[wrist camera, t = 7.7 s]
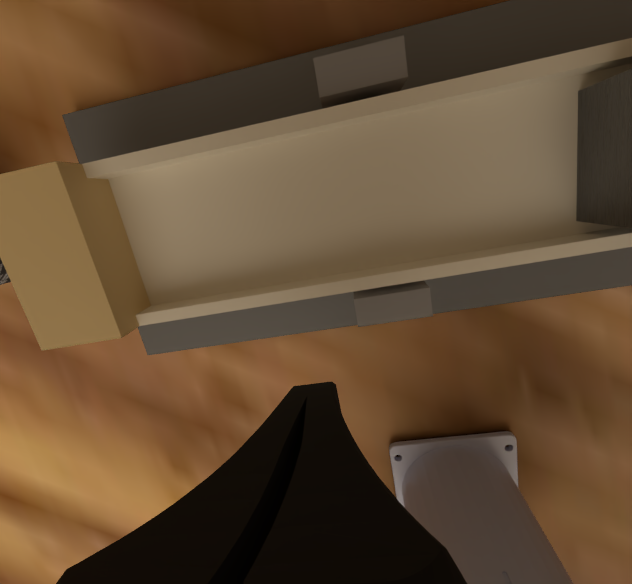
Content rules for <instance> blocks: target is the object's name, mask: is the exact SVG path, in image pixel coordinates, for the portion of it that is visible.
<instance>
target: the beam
mask: <svg viewBox="0 0 632 584" xmlns="http://www.w3.org/2000/svg"><path fill="white" fill-rule="evenodd" d="M629 69H632V38H629V39H624V40H620V41H616V42H611V43H607V44H602V45H598V46H594V47H589V48H585V49H581V50H576V51H572V52H568V53H563V54H559V55H555V56H550V57H546V58H541V59H537V60H533V61H528V62H524V63H520V64H515V65H511V66H507V67H502V68H498V69H494V70H489V71H485V72H481V73H476V74H472V75H467V76H463V77H459V78H454V79H450V80H446V81H441V82H437V83H433V84H428V85H424V86H420V87H415V88H411V89H406V90H402V91H398V92H393V93H389V94H385V95H380V96H376V97H372V98H367V99H363V100H359V101H354V102H350V103H345V104H341V105H337V106H332V107H328V108H324V109H319V110H315V111H311V112H306V113H302V114H298V115H293V116H289V117H285V118H280V119H276V120H271V121H267V122H263V123H258V124H254V125H250V126H245V127H241V128H237V129H232V130H228V131H224V132H219V133H215V134H210V135H206V136H202V137H197V138H193V139H189V140H184V141H180V142H176V143H171V144H167V145H163V146H158V147H154V148H149V149H145V150H141V151H136V152H132V153H128V154H123V155H119V156H115V157H110V158H106V159H102V160H97V161H93V162H88V163H84V164H77V163H68V162H58V161H55V162H51V163H46V164H42V165H38V166H33V167H29V168H25V169H21V170H16V171H12V172H8V173H3V174H0V258H1V260H2V263H3V265H4V267H5V269H6V272H7V274H8V276H9V278H10V280H11V283H12V285H13V287H14V289H15V292H16V294H17V296H18V298H19V301H20V303H21V305H22V307H23V310H24V312H25V314H26V316H27V319H28V321H29V323H30V325H31V327H32V330H33V332H34V334H35V336H36V339H37V341H38V343H39V345H40V348H41V350H48V349H54V348H61V347H67V346H73V345H80V344H86V343H92V342H99V341H105V340H112V339H118V338H122V337H124V336H125V335H127V334H128V333H130V332H131V331H133V330H134V329H136V328H137V327H139V326H143V325H149V324H155V323H162V322H168V321H174V320H180V319H186V318H193V317H199V316H205V315H211V314H218V313H224V312H230V311H236V310H242V309H249V308H255V307H261V306H267V305H273V304H280V303H286V302H292V301H298V300H304V299H311V298H317V297H323V296H329V295H336V294H342V293H348V292H354V291H360V290H367V289H373V288H379V287H385V286H391V285H398V284H404V283H410V282H416V281H423V280H429V279H435V278H441V277H447V276H454V275H460V274H466V273H472V272H478V271H485V270H491V269H497V268H503V267H509V266H516V265H522V264H528V263H534V262H541V261H547V260H553V259H559V258H565V257H572V256H578V255H584V254H590V253H596V252H603V251H609V250H615V249H621V248H627V247H632V228H626V227H618V226H610V225H602V224H595V223H587V222H579V221H576V206H577V133H578V91H579V90H582V89H584V88H587V87H589V86H591V85H594V84H596V83H598V82H601V81H603V80H606V79H608V78H610V77H613V76H615V75H617V74H620V73H622V72H624V71H627V70H629Z"/></svg>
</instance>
